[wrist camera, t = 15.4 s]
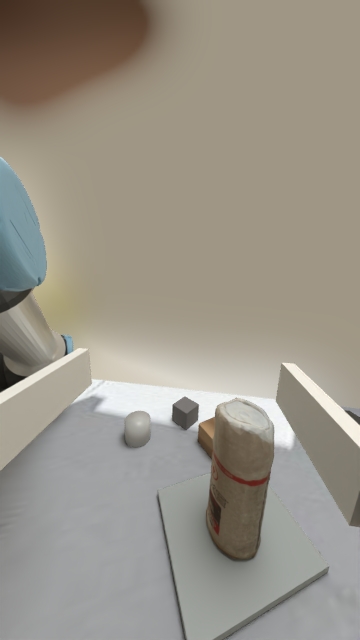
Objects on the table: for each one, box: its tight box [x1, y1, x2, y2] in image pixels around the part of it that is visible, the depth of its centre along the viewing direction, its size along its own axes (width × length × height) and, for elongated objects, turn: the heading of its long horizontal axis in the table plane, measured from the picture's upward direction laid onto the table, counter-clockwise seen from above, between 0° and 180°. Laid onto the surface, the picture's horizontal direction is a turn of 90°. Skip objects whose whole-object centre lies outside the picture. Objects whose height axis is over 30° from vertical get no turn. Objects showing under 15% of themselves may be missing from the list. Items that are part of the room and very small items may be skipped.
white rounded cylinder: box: [125, 411, 150, 448], centre depth 46 cm, size 6×6×5 cm
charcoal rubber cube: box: [172, 397, 199, 430], centre depth 52 cm, size 5×5×5 cm
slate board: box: [158, 473, 329, 640], centre depth 30 cm, size 20×16×1 cm
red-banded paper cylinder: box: [206, 398, 274, 559], centre depth 28 cm, size 8×8×20 cm
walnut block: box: [198, 417, 215, 458], centre depth 44 cm, size 6×6×5 cm
